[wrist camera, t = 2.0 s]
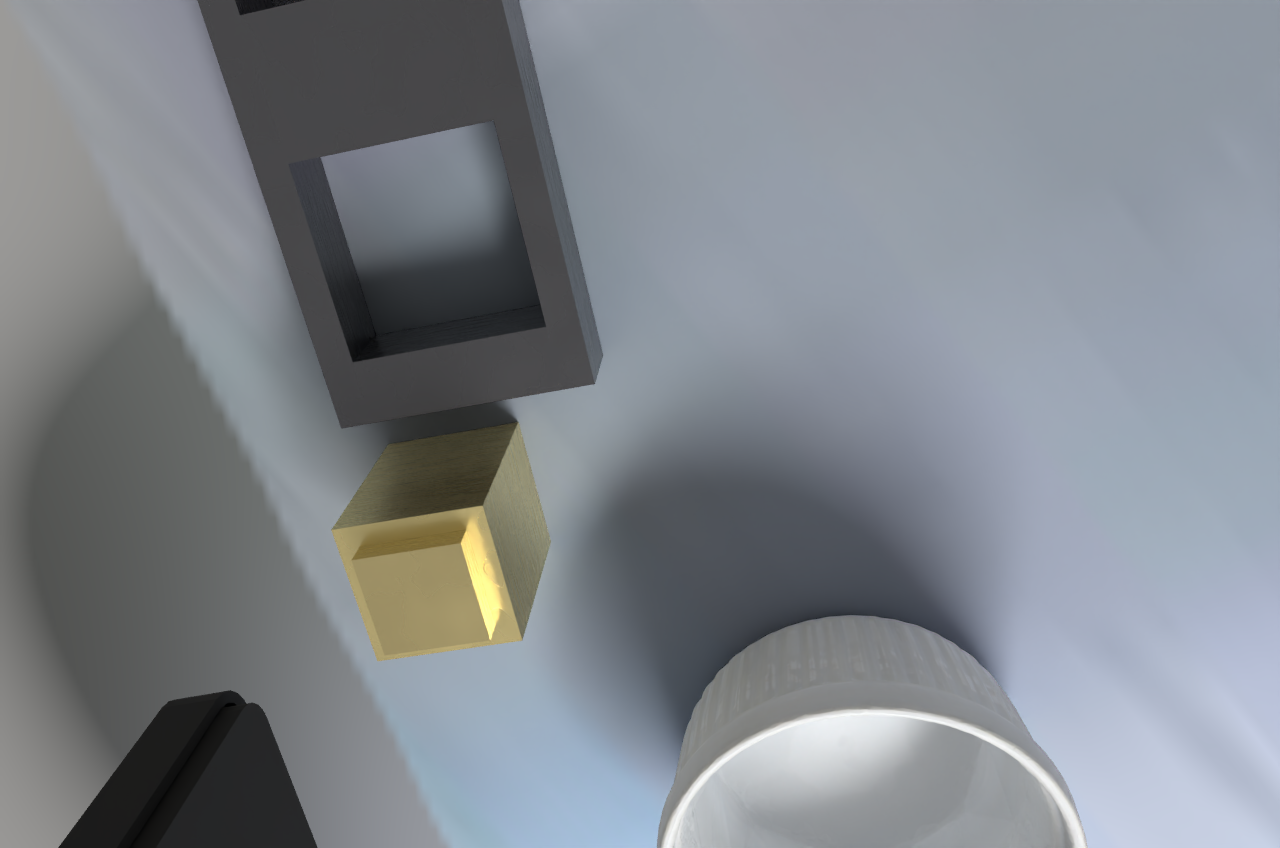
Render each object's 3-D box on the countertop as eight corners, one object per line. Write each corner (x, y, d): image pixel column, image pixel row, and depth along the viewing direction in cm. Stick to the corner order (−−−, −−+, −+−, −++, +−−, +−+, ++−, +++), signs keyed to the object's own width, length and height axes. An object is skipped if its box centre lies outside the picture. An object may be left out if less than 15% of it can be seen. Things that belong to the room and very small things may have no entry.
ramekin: (1113, 686, 40) (1186, 830, 34) (902, 926, 45) (931, 1090, 39) (783, 516, 38) (795, 634, 32) (602, 785, 43) (581, 933, 37)
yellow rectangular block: (388, 444, 38) (322, 543, 32) (518, 421, 38) (477, 519, 31) (425, 560, 40) (369, 676, 34) (550, 541, 39) (517, 656, 33)
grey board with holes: (138, -300, 30) (90, -319, 28) (428, -381, 29) (403, -408, 27) (364, 398, 38) (341, 428, 35) (603, 355, 36) (594, 383, 34)
